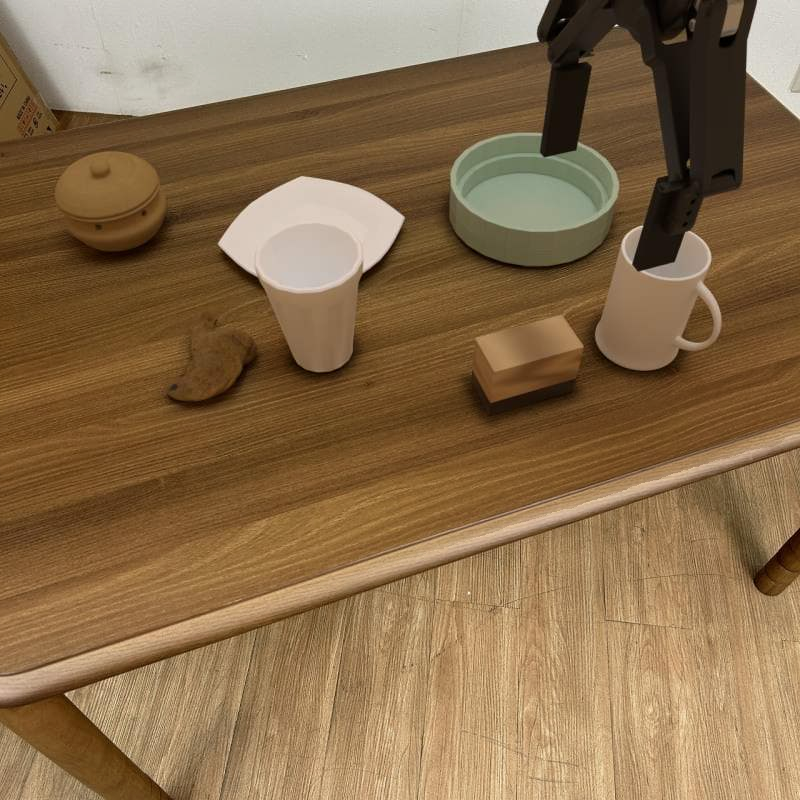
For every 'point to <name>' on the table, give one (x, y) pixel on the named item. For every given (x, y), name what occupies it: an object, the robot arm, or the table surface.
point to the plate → (313, 218)
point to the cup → (313, 289)
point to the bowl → (531, 200)
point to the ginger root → (212, 360)
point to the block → (525, 364)
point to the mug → (654, 306)
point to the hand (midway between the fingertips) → (601, 203)
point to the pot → (111, 200)
